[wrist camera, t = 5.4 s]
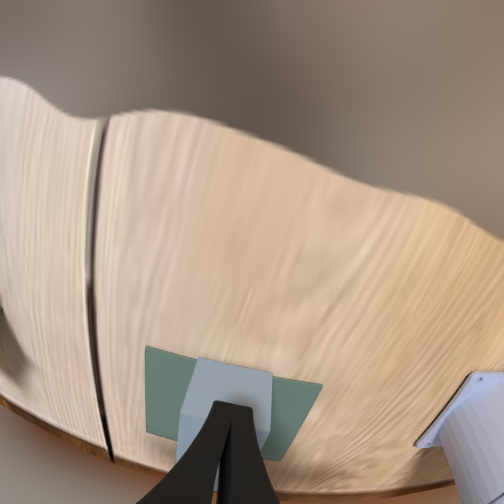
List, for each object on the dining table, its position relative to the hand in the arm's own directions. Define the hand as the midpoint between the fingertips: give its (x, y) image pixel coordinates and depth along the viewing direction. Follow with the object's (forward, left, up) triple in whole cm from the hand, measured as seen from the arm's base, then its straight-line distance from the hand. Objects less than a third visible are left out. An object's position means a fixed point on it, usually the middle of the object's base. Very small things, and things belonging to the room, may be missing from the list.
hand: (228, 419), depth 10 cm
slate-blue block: (0, +2, -3) cm, 4 cm away
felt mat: (0, +7, -5) cm, 9 cm away
